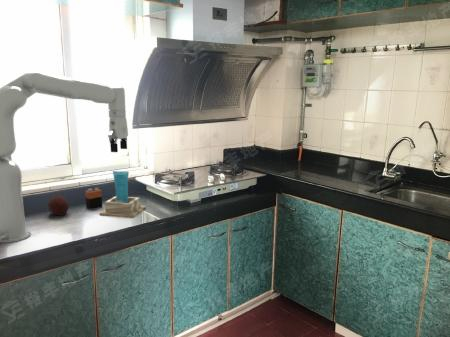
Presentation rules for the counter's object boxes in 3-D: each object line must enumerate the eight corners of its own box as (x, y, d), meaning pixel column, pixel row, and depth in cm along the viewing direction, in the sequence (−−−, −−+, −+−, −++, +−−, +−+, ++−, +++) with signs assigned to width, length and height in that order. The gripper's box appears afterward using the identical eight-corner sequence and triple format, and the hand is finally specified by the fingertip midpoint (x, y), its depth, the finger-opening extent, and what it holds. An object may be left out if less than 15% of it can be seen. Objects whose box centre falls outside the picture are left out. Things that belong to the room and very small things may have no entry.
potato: (52, 219, 175) (51, 200, 173) (46, 213, 184) (44, 194, 182) (72, 215, 180) (70, 197, 178) (64, 209, 190) (63, 191, 188)
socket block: (133, 217, 178) (132, 205, 177) (99, 215, 181) (98, 203, 180) (145, 208, 192) (145, 196, 191) (114, 206, 196) (113, 194, 194)
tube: (131, 208, 189) (129, 170, 185) (129, 211, 184) (127, 172, 180) (115, 208, 188) (113, 170, 184) (114, 211, 184) (111, 172, 180)
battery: (86, 208, 192) (84, 188, 190) (98, 205, 197) (97, 186, 195) (90, 210, 189) (88, 190, 187) (102, 207, 194) (101, 188, 192)
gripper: (116, 115, 168) (118, 153, 171) (132, 112, 184) (134, 148, 188) (100, 114, 169) (102, 153, 173) (118, 112, 186) (120, 147, 189)
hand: (119, 150), depth 180 cm, fingers open, 9 cm apart
